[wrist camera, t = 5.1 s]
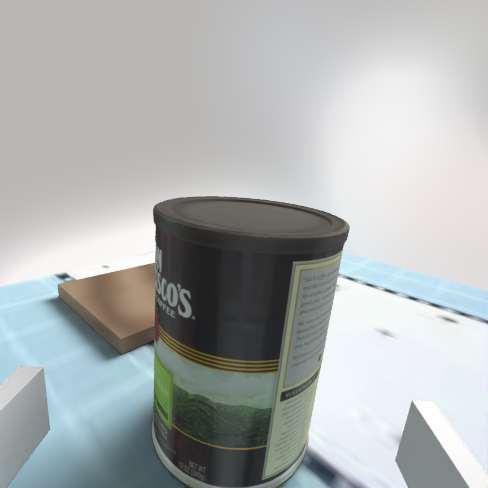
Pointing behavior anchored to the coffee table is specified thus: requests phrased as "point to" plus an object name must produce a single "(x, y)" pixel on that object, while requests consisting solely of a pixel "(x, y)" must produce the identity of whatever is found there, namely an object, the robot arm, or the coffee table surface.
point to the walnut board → (116, 305)
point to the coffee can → (239, 335)
